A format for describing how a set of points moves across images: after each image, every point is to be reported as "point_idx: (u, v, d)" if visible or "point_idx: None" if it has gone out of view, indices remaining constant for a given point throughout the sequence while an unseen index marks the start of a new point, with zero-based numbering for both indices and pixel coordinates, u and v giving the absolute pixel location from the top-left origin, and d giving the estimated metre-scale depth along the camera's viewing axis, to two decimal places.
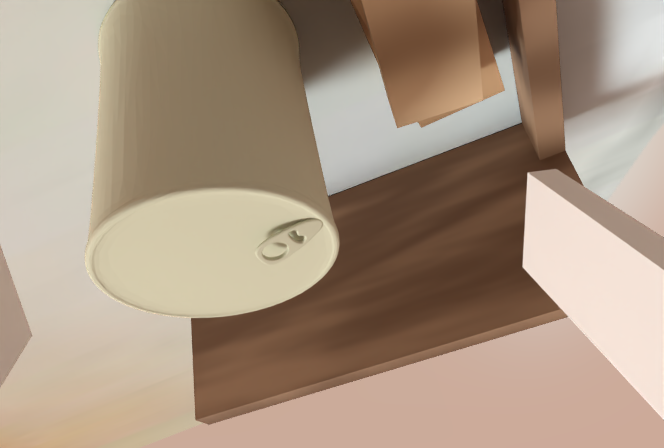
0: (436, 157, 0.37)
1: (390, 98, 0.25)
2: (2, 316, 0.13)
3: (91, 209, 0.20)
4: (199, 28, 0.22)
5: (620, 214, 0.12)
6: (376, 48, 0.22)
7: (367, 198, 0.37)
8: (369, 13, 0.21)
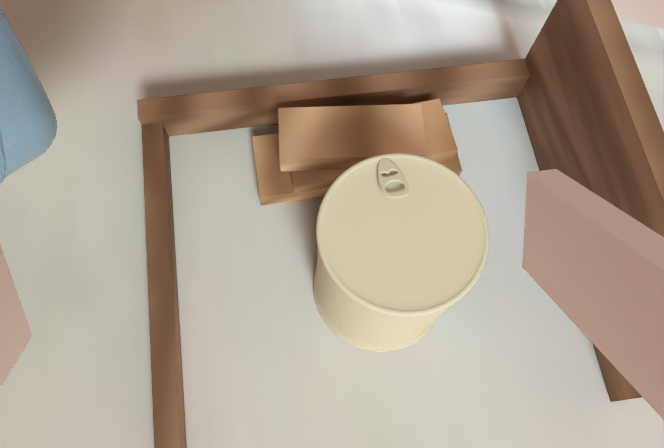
0: (536, 156, 0.45)
1: None
2: (2, 316, 0.13)
3: (350, 304, 0.31)
4: None
5: (620, 214, 0.12)
6: (355, 156, 0.39)
7: None
8: (330, 155, 0.39)
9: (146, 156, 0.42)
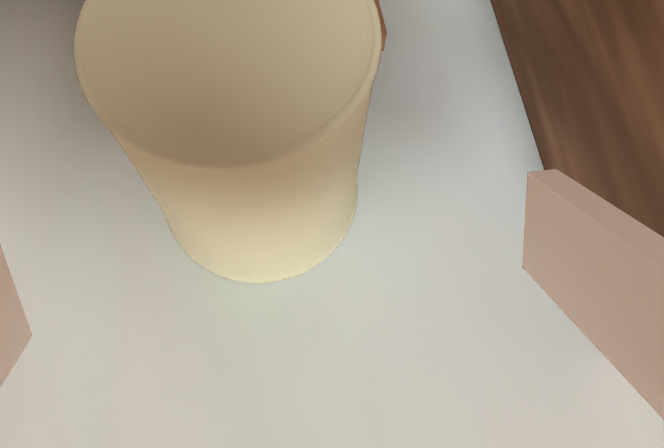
0: (498, 19, 0.32)
1: None
2: (2, 316, 0.13)
3: (141, 164, 0.18)
4: None
5: (620, 214, 0.12)
6: None
7: (529, 83, 0.29)
8: None
9: None
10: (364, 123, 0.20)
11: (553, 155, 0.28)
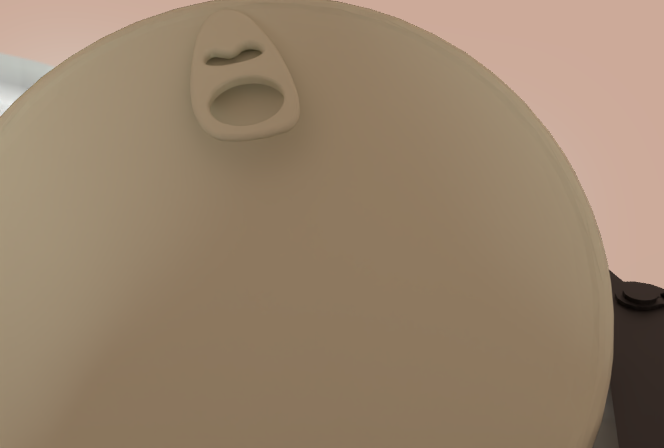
0: None
1: None
2: None
3: None
4: None
5: None
6: None
7: None
8: None
9: None
10: None
11: None
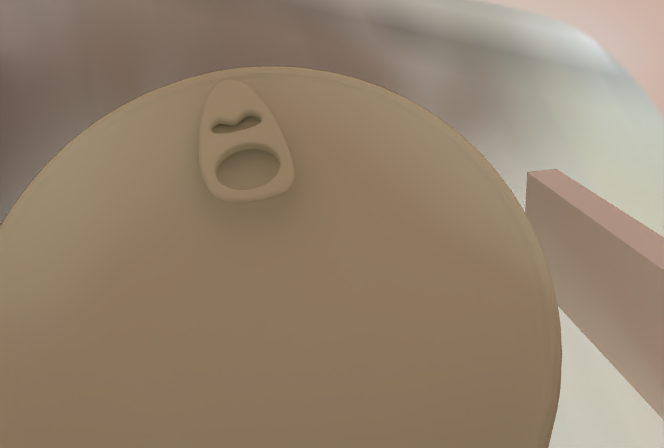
0: None
1: None
2: None
3: None
4: None
5: (620, 214, 0.12)
6: None
7: None
8: None
9: None
10: None
11: None
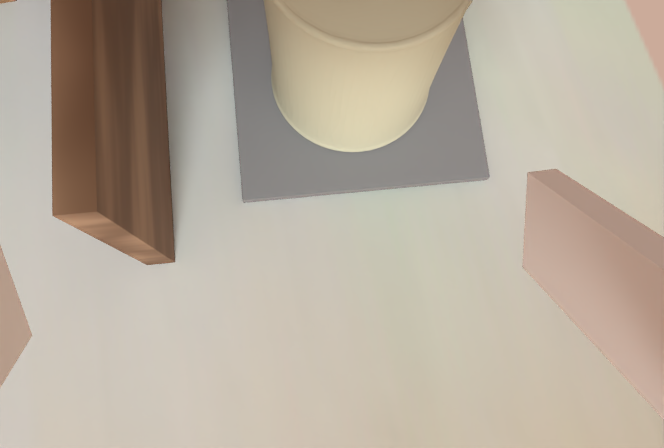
0: None
1: None
2: (2, 316, 0.13)
3: (297, 45, 0.24)
4: None
5: (620, 214, 0.12)
6: None
7: None
8: None
9: None
10: None
11: None
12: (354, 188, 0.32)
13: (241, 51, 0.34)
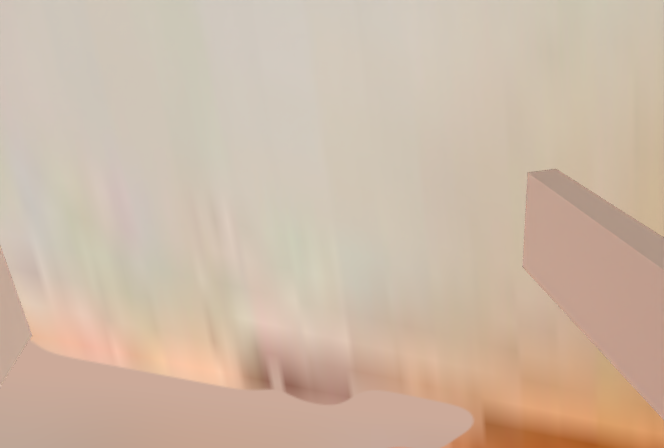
0: None
1: None
2: (2, 316, 0.13)
3: None
4: None
5: (620, 214, 0.12)
6: None
7: None
8: None
9: None
10: None
11: None
12: None
13: None
